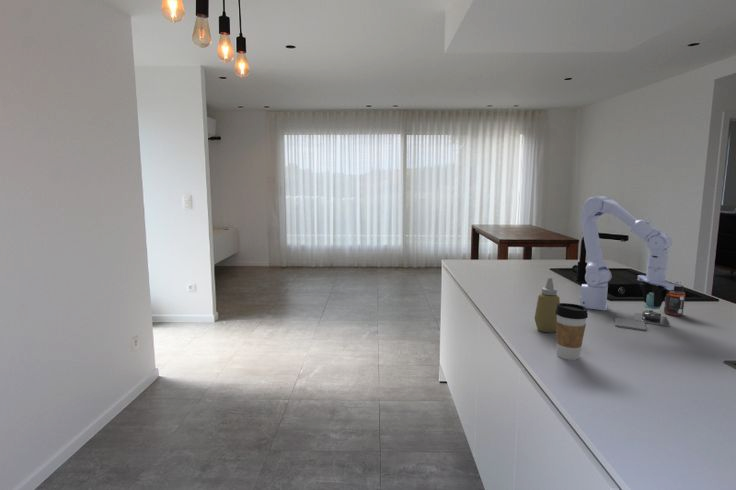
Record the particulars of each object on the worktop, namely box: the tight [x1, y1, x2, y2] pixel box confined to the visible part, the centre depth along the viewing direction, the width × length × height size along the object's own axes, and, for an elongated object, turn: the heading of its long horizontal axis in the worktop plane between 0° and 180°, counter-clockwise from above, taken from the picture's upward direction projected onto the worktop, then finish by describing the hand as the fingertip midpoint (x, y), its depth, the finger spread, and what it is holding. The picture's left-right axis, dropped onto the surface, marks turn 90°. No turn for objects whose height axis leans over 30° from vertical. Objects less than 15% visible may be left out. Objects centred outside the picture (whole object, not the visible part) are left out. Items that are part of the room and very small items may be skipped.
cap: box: [644, 292, 661, 310], centre depth 155 cm, size 5×5×5 cm
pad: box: [614, 317, 647, 332], centre depth 150 cm, size 9×9×1 cm
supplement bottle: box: [663, 283, 686, 317], centre depth 162 cm, size 6×6×11 cm
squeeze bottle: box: [534, 277, 561, 333], centre depth 143 cm, size 8×8×18 cm
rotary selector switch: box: [633, 309, 670, 327], centre depth 155 cm, size 10×10×3 cm
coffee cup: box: [555, 302, 589, 361], centre depth 123 cm, size 8×8×15 cm
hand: (652, 304), depth 155 cm, fingers closed on cap, 4 cm apart
